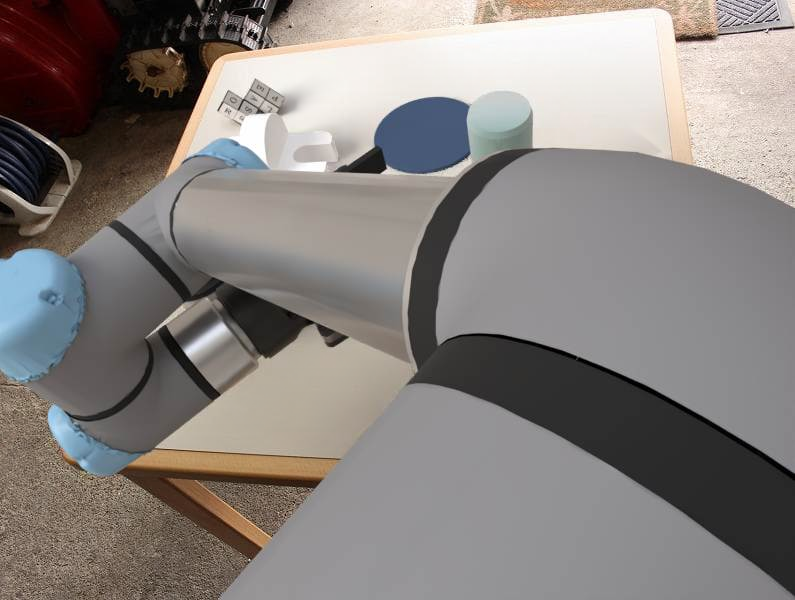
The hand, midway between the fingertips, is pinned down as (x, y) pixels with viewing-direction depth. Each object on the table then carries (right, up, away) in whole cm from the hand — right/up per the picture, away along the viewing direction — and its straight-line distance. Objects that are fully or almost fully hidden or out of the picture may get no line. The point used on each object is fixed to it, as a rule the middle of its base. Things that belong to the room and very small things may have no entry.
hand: (426, 189), depth 57 cm
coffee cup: (-22, -14, +20) cm, 33 cm away
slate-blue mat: (+2, +14, +34) cm, 37 cm away
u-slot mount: (-21, +9, +35) cm, 42 cm away
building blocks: (-26, +20, +44) cm, 55 cm away
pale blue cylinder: (+11, -3, +20) cm, 23 cm away
